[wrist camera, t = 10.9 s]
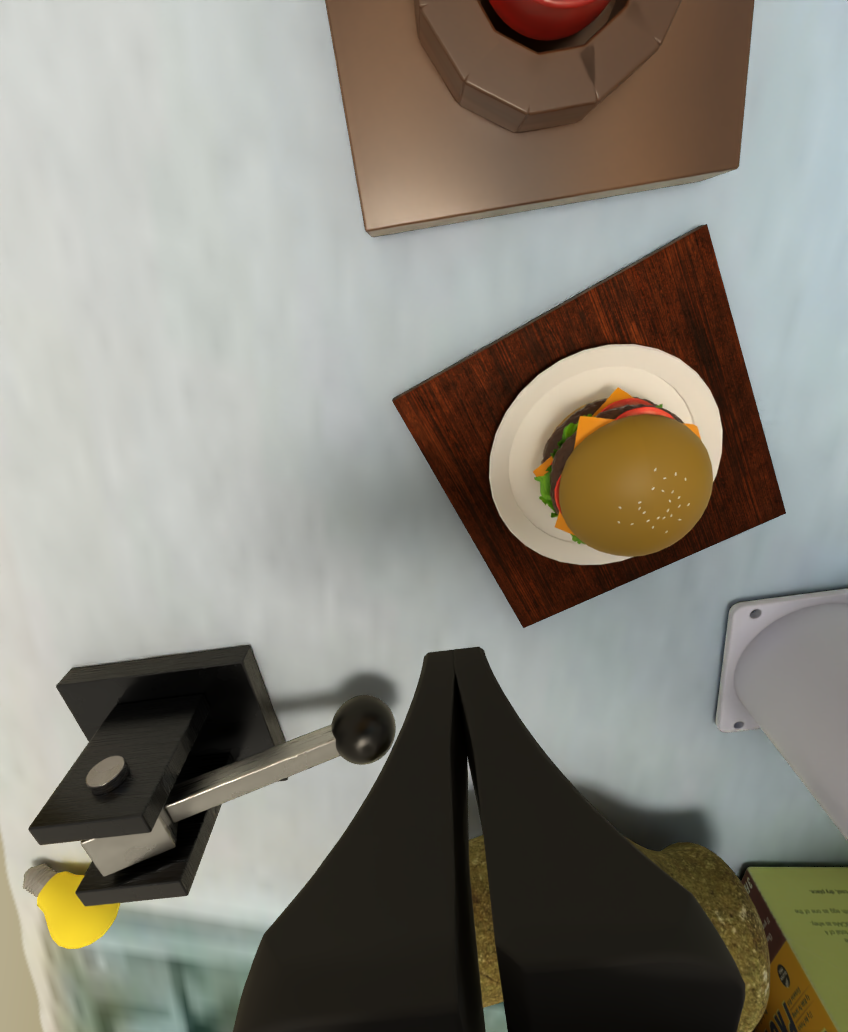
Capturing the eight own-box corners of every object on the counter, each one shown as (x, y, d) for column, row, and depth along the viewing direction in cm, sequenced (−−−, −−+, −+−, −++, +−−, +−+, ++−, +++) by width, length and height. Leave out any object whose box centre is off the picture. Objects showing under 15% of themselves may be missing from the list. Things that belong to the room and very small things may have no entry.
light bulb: (139, 882, 31) (124, 915, 33) (59, 829, 32) (47, 863, 33) (93, 940, 28) (79, 974, 29) (5, 880, 29) (-6, 916, 30)
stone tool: (690, 930, 32) (723, 789, 31) (801, 1118, 24) (854, 933, 22) (370, 915, 31) (387, 766, 29) (360, 1109, 22) (383, 910, 21)
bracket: (250, 644, 24) (188, 780, 18) (292, 761, 28) (254, 911, 21) (70, 668, 25) (-55, 809, 18) (133, 780, 28) (47, 933, 22)
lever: (379, 673, 25) (397, 715, 22) (390, 718, 26) (408, 763, 24) (90, 780, 22) (72, 844, 19) (118, 825, 23) (105, 891, 20)
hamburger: (521, 622, 24) (548, 711, 19) (392, 398, 20) (384, 439, 15) (778, 508, 22) (886, 576, 17) (699, 225, 17) (814, 204, 12)
